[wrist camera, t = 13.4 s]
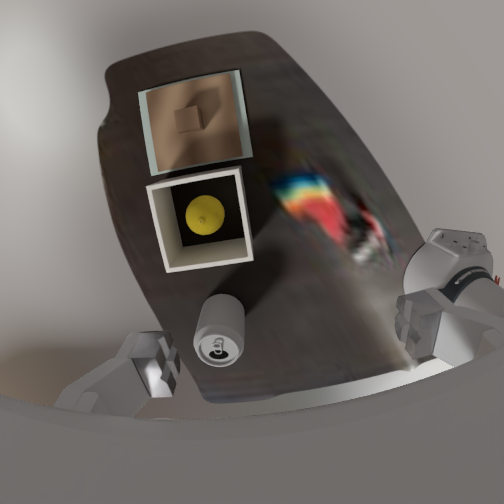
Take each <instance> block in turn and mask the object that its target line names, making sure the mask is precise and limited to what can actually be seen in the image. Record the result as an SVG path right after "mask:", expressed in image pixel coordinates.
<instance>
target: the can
mask: <svg viewBox="0 0 504 504" xmlns="http://www.w3.org/2000/svg"><path fill="white" fill-rule="evenodd" d="M244 316H245V312H244V308H243V305H242V304H241V302H240V301H239V300H238V299H236V298H235V297H233V296H230V295H228V294H217V295H214V296H212V297H210V298H208V299H207V300H206V301H205V302H204V305H203V307H202V310H201V314H200V318H199V321H198V325H197V329H196V333H195V337H194V347H195V350H196V352H197V354H198V356H199V357H200V359H201V360H202V361H203V362H205V363H207V364H209V365H211V366H216V367H223V366H228V365H230V364H232V363H234V362H235V361H236V360H237V358H238V357H239V356H240V355H241V354H242V352H243V348H244Z"/></svg>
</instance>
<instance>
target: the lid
mask: <svg viewBox="0 0 504 504" xmlns="http://www.w3.org/2000/svg"><path fill="white" fill-rule="evenodd" d="M146 100H147V107H148V114H149V121H150V127H151V134H152V140H153V146H154V152H155V157H156V163H157V169H158V172H161V171H165V170H170V169H175V168H179V167H184V166H189V165H194V164H200V163H205V162H210V161H216V160H222V159H227V158H234V157H240V156H243V153H242V147H241V141H240V135H239V128H238V122H237V116H236V110H235V103H234V97H233V91H232V85H231V79H230V73H229V74H223V75H217V76H212V77H207V78H202V79H197V80H192V81H188V82H183V83H179V84H175V85H171V86H167V87H163V88H159V89H156V90H152V91H149V92H146Z"/></svg>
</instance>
